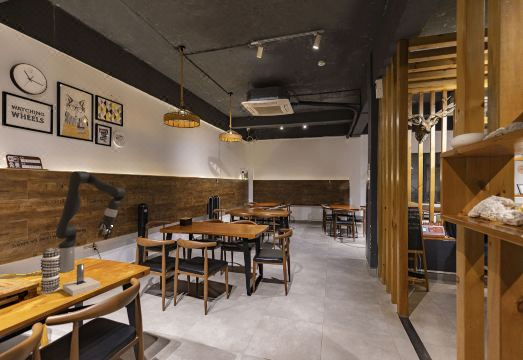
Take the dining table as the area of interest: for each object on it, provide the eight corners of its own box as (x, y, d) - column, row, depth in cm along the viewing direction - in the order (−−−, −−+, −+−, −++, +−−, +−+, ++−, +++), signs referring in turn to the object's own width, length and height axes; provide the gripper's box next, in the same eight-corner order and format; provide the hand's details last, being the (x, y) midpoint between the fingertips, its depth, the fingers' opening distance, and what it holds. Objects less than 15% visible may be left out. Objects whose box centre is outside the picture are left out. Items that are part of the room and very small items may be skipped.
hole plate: (62, 289, 147) (62, 284, 147) (88, 281, 159) (88, 277, 159) (72, 296, 138) (72, 290, 138) (100, 287, 150) (100, 282, 150)
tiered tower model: (59, 291, 144) (59, 249, 145) (38, 295, 139) (39, 251, 140) (61, 286, 152) (62, 245, 152) (41, 289, 147) (42, 247, 147)
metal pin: (75, 287, 149) (75, 265, 150) (82, 285, 152) (82, 263, 152) (77, 289, 147) (78, 266, 148) (84, 287, 150) (84, 264, 150)
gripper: (99, 211, 173) (91, 234, 171) (109, 216, 165) (101, 240, 163) (110, 213, 179) (103, 234, 177) (120, 218, 171) (112, 240, 169)
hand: (102, 237), depth 170 cm, fingers open, 8 cm apart
